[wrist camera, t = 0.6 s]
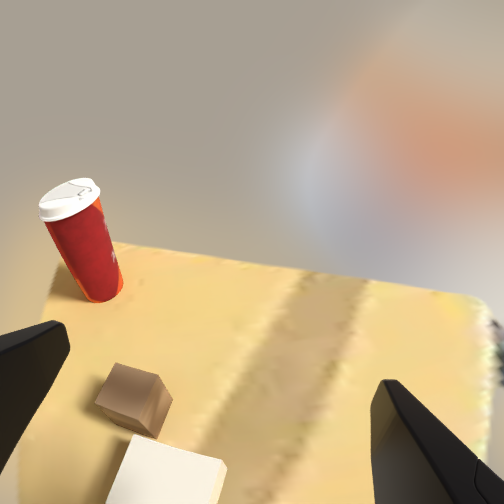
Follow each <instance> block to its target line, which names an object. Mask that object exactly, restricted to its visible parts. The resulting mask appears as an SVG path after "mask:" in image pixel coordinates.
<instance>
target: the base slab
mask: <svg viewBox="0 0 504 504" xmlns="http://www.w3.org/2000/svg"><path fill="white" fill-rule="evenodd" d="M227 469H228V468H227V467H226V465H225V464H224V462H223V461H222V460H221V459H216V458H212V457H208V456H204V455H200V454H196V453H192V452H189V451H185V450H182V449H178V448H175V447H172V446H168V445H165V444H162V443H159V442H156V441H153V440H150V439H147V438H144V437H141V436H139V435H136V434H134V435H133V437H132V440H131V442H130V444H129V447H128V449H127V451H126V454H125V456H124V459H123V461H122V463H121V466H120V468H119V471H118V473H117V476H116V478H115V480H114V483H113V485H112V488H111V490H110V493H109V495H108V498H107V500H106V503H105V504H217V502H218V499H219V496H220V492H221V489H222V486H223V482H224V479H225V475H226V472H227Z"/></svg>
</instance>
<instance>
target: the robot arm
mask: <svg viewBox="0 0 504 504" xmlns="http://www.w3.org/2000/svg"><path fill="white" fill-rule="evenodd" d="M69 352H70V343H69V339H68V335H67V331H66V327H65V325H64V324H63V323H61V322H58V321H55V320H51V321H48V322H44V323H41V324H38V325H34V326H31V327H28V328H25V329H21V330H18V331H14V332H11V333H8V334H4V335H1V336H0V474H1V472H2V470H3V469H4V466H5V464H6V463H7V461H8V459H9V457H10V455H11V454H12V452H13V450H14V448H15V447H16V445H17V443H18V441H19V440H20V438H21V436H22V434H23V433H24V431H25V429H26V427H27V426H28V424H29V422H30V421H31V419H32V417H33V416H34V414H35V413H36V411H37V409H38V408H39V406H40V404H41V403H42V401H43V400H44V398H45V397H46V395H47V393H48V392H49V390H50V388H51V386H52V385H53V383H54V381H55V379H56V377H57V375H58V373H59V371H60V369H61V367H62V365H63V363H64V361H65V360H66V358H67V356H68V354H69ZM370 412H371V465H372V475H373V485H374V497H375V504H504V481H503V480H502V479H501V478H500V477H498V476H497V475H496V474H495V473H494V472H493V471H492V470H491V469H490V468H489V467H488V466H487V465H486V464H484V463H483V462H482V461H481V460H480V459H478V457H477V456H476V455H475V454H474V453H473V452H472V451H471V450H470V449H469V448H468V447H467V446H466V445H465V444H464V443H463V442H462V441H460V440H459V439H458V438H457V437H456V436H455V435H454V434H453V433H452V432H451V431H450V430H449V429H448V428H447V427H446V426H445V425H444V424H443V423H442V422H441V421H440V420H439V419H438V418H437V417H435V416H434V415H433V414H432V413H431V412H430V411H429V410H428V409H427V408H426V407H425V406H424V405H423V404H422V403H421V402H420V401H419V400H418V399H417V398H416V397H415V396H413V395H412V394H411V393H410V392H409V391H408V390H407V389H406V388H405V387H404V386H403V385H402V384H401V383H400V382H399V381H397V380H394V379H384V380H382V381H381V382H380V384H379V386H378V388H377V391H376V393H375V395H374V397H373V400H372V403H371V409H370Z"/></svg>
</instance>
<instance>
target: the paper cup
mask: <svg viewBox="0 0 504 504" xmlns="http://www.w3.org/2000/svg"><path fill="white" fill-rule="evenodd" d="M99 194H100V189H99V188H98V187H97V186H95V184H94V182H93V180H91V179H89V178H79V179H74V180H71V181H68V182H66V183H63V184H61V185H59V186H57V187H56V188H54V189H52V190H51V191H50V192H48V193H47V194H46V195H45V196H43V198H42V199H41V200H40V203H39V209H40V211H39V218H40V219H41V220H42V221H44V222H45V224H46V227H47V229H48V231H49V233H50V234H51V237H52V239H53V241H54V242H55V244H56V246H57V248H58V250H59V252H60V254H61V256H62V258H63V259H64V261H65V263H66V265H67V266H68V268H69V270H70V272H71V273H72V275H73V277H74V279H75V280H76V282H77V284H78V285H79V287H80V288H81V290H82V292H83V293H84V295H85V296H86V298H87V299H88V300H89V301H91V302H94V303H102V302H106V301H108V300H110V299H112V298H114V297H115V296H116V295H117V294H118V293H119V292H120V291H121V289H122V287H123V279H122V275H121V272H120V269H119V266H118V262H117V259H116V256H115V253H114V249H113V246H112V243H111V239H110V236H109V232H108V229H107V226H106V222H105V218H104V215H103V211H102V207H101V203H100V199H99Z"/></svg>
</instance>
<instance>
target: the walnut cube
mask: <svg viewBox="0 0 504 504" xmlns="http://www.w3.org/2000/svg"><path fill="white" fill-rule="evenodd" d="M172 401H173V399H172V397H171V395H170V394H169V392H168V390H167V389H166V387H165V385H164V384H163V382H162V380H161V379H160V377H159V375H157V374H153V373H149V372H146V371H142V370H139V369H135V368H132V367H128V366H125V365H122V364H119V363H115V364H114V366H113V368H112V370H111V372H110V374H109V376H108V377H107V379H106V381H105V383H104V385H103V387H102V389H101V391H100V393H99V395H98V397H97V399H96V400H95V402H94V403H95V404H96V405H97V406H98V407H99V408H100V409H101V410H102V411H103V412H104V413H105V414H106V415H107V416H108V417H109V418H110V419H111V420H112V421H113V422H114V423H115V424H117V425H119V426H122V427H124V428H127V429H129V430H132V431H135V432H138V433H140V434H143V435H146V436H149V437H152V438H155V439H157V438H158V436H159V433H160V431H161V428H162V426H163V423H164V420H165V418H166V415H167V413H168V410H169V408H170V405H171V403H172Z"/></svg>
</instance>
